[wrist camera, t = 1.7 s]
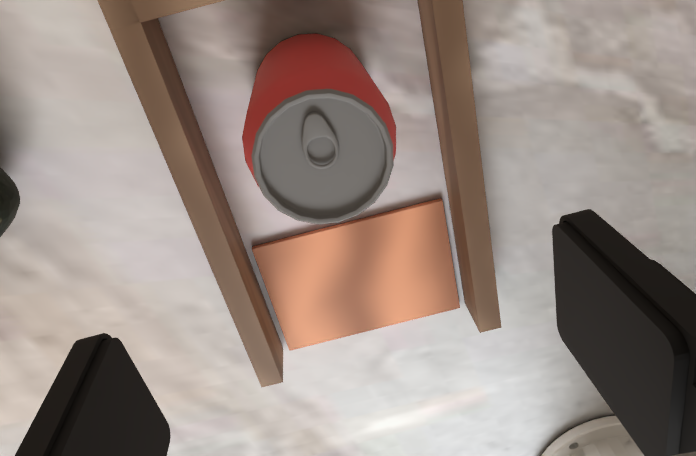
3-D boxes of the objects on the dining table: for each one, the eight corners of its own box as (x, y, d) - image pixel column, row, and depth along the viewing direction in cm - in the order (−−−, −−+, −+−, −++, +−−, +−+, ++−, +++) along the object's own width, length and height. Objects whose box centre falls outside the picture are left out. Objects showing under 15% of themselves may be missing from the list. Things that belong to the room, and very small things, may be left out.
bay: (432, -92, 28) (450, -97, 24) (484, 298, 40) (501, 327, 36) (117, -8, 28) (96, -3, 25) (263, 353, 40) (261, 387, 37)
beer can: (354, 19, 30) (392, 57, 19) (375, 131, 33) (418, 216, 22) (240, 46, 30) (214, 98, 19) (271, 155, 33) (264, 252, 22)
